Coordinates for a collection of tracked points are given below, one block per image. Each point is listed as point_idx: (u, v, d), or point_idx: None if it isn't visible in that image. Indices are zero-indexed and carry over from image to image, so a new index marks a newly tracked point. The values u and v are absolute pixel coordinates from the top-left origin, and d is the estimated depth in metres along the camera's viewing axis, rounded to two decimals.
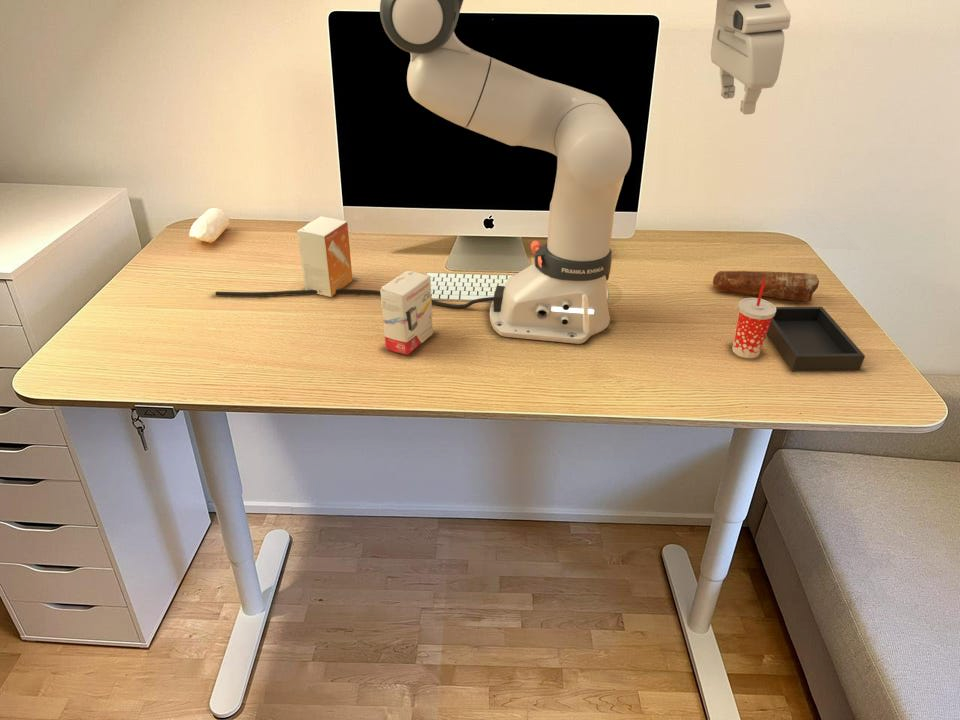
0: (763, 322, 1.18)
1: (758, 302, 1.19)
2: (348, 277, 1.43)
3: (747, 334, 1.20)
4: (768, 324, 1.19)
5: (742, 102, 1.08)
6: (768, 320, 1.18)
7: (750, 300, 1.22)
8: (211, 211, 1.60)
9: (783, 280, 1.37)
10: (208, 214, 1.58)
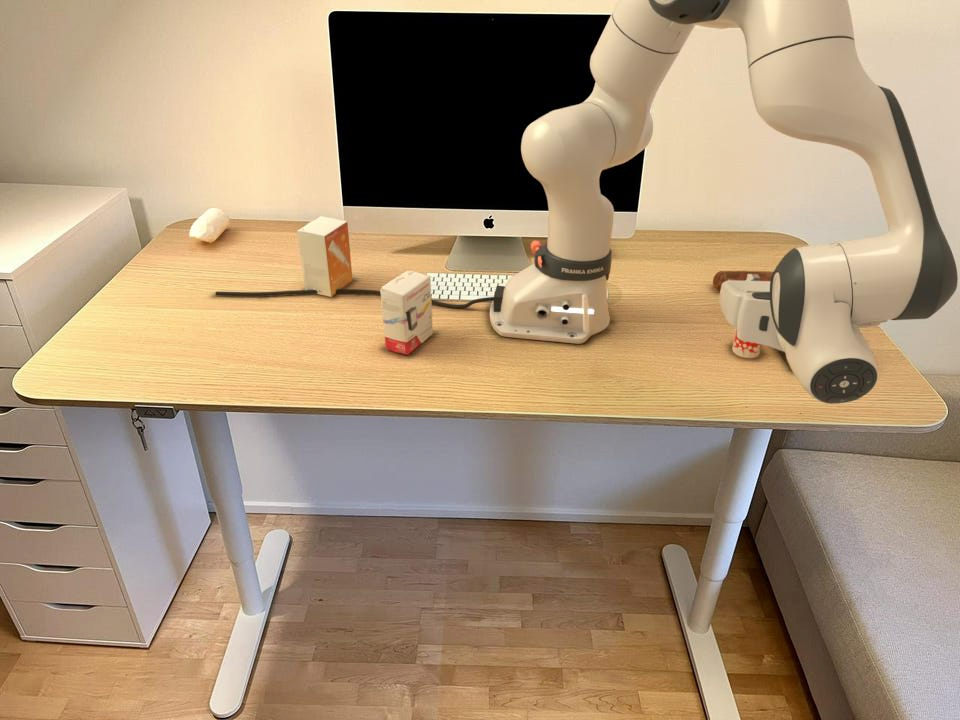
0: None
1: None
2: (348, 277, 1.43)
3: None
4: None
5: (755, 277, 1.04)
6: None
7: None
8: (211, 211, 1.60)
9: None
10: (208, 214, 1.58)
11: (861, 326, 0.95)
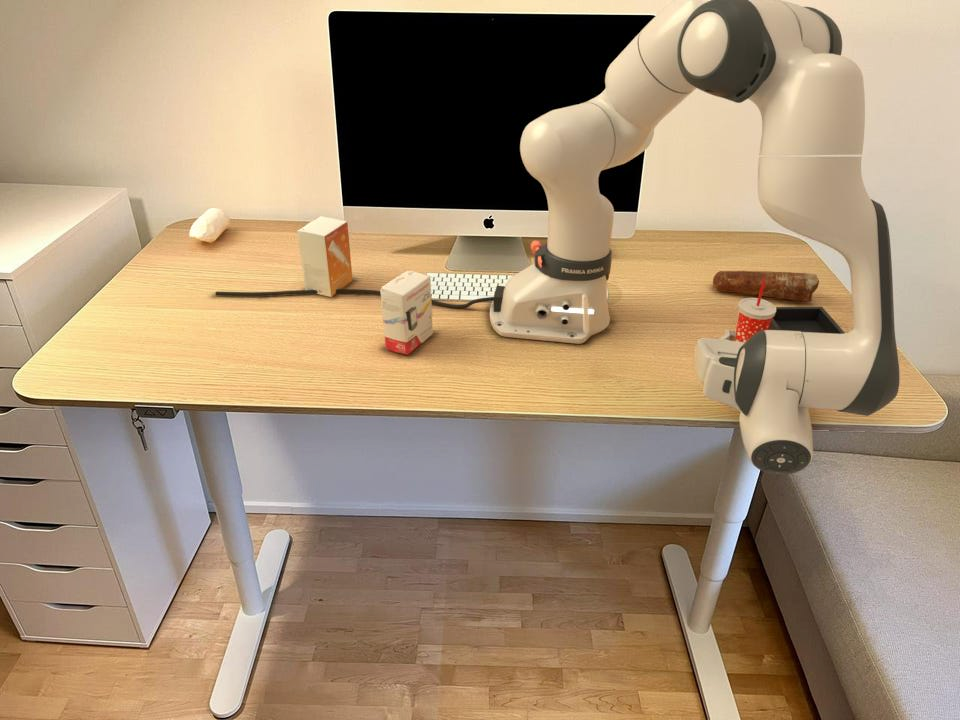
0: (763, 322, 1.18)
1: (758, 302, 1.19)
2: (348, 277, 1.43)
3: (747, 334, 1.20)
4: (768, 324, 1.19)
5: (731, 334, 1.12)
6: (768, 320, 1.18)
7: (750, 300, 1.22)
8: (211, 211, 1.60)
9: (783, 280, 1.37)
10: (208, 214, 1.58)
11: None
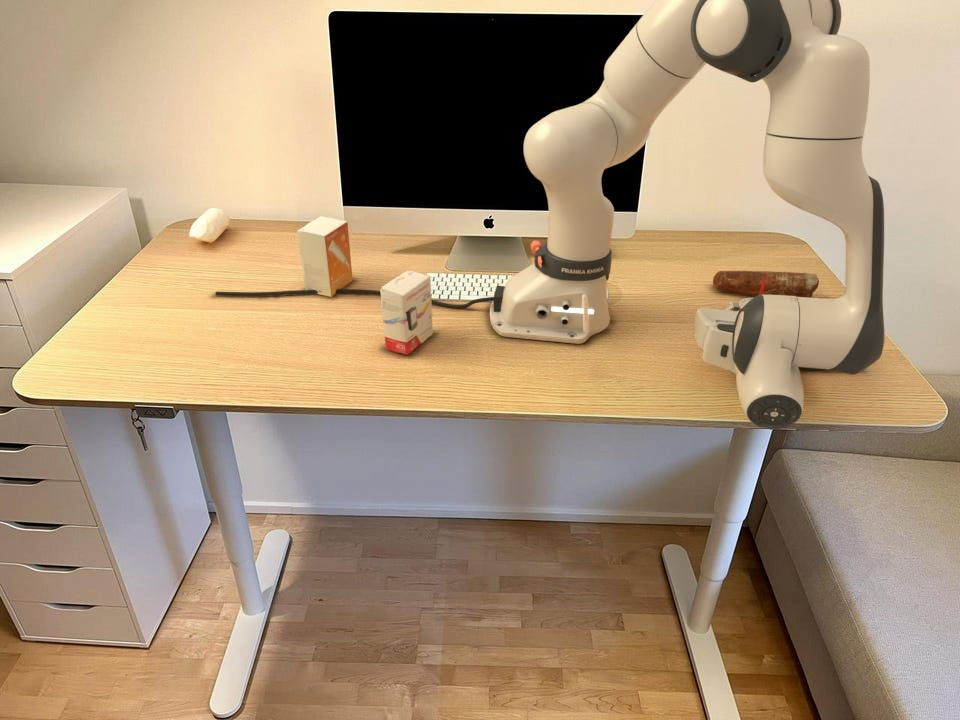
0: None
1: None
2: (348, 277, 1.43)
3: None
4: None
5: (734, 306, 1.20)
6: None
7: None
8: (211, 211, 1.60)
9: (783, 280, 1.37)
10: (208, 214, 1.58)
11: None
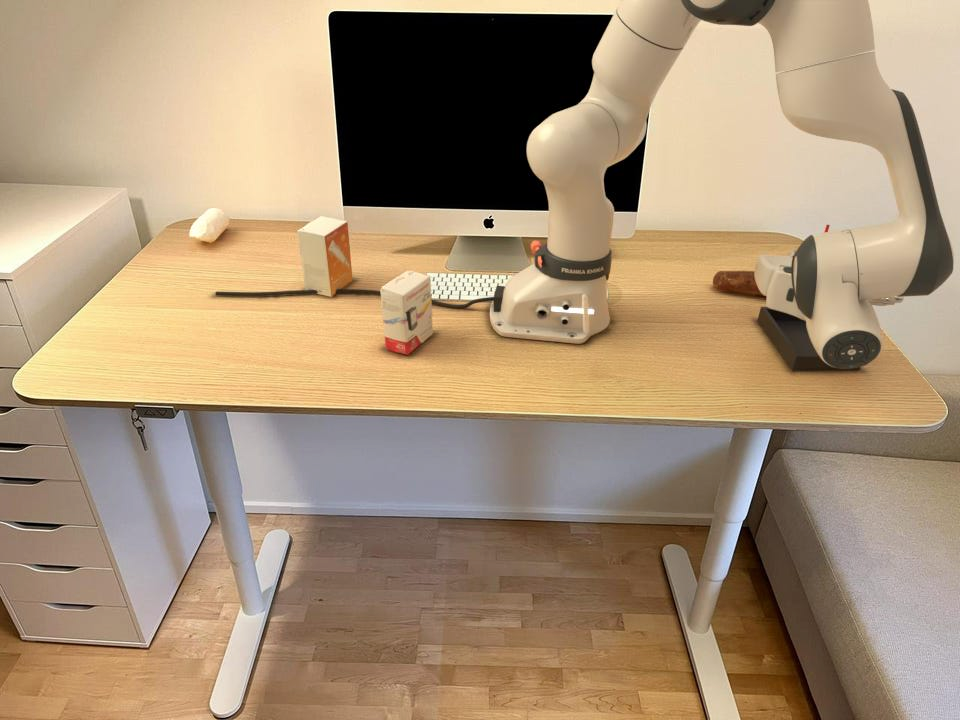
0: None
1: None
2: (348, 277, 1.43)
3: None
4: None
5: None
6: None
7: None
8: (211, 211, 1.60)
9: None
10: (208, 214, 1.58)
11: (878, 304, 1.07)
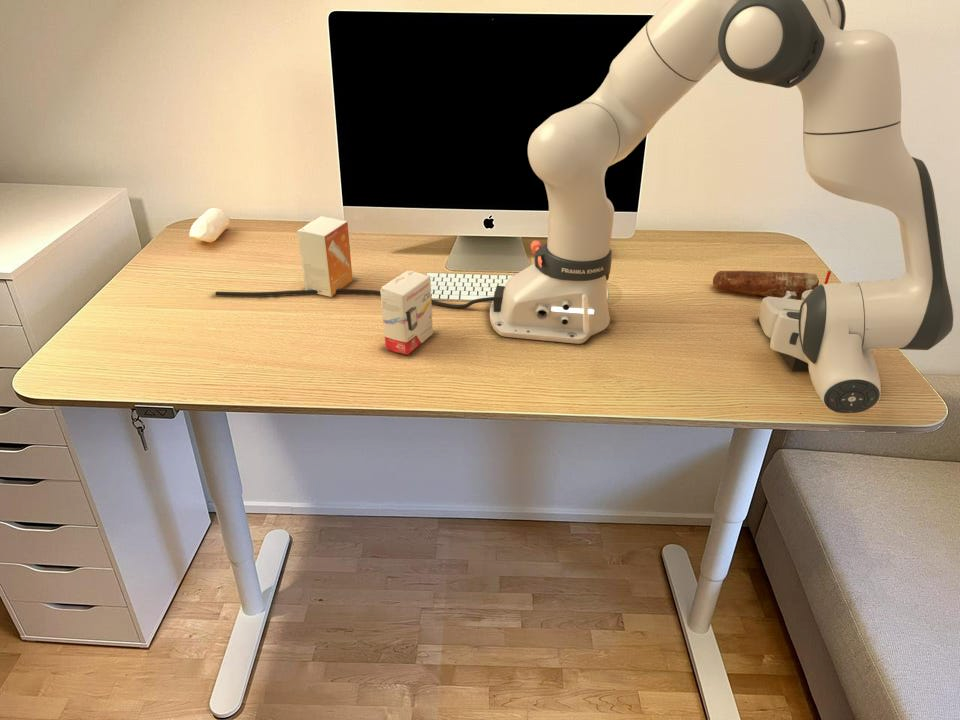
0: None
1: None
2: (348, 277, 1.43)
3: None
4: None
5: (792, 294, 1.21)
6: None
7: None
8: (211, 211, 1.60)
9: (783, 280, 1.37)
10: (208, 214, 1.58)
11: None
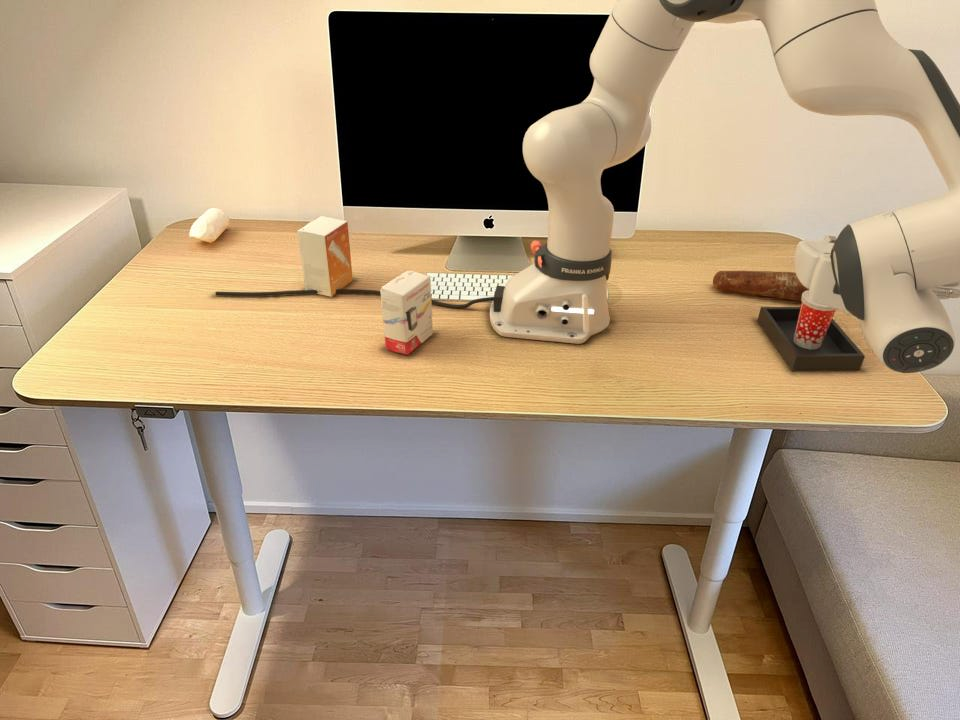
0: (828, 313, 1.20)
1: None
2: (348, 277, 1.43)
3: (810, 325, 1.22)
4: (832, 315, 1.21)
5: (832, 239, 1.02)
6: (832, 311, 1.20)
7: None
8: (211, 211, 1.60)
9: (783, 280, 1.37)
10: (208, 214, 1.58)
11: (939, 298, 0.93)
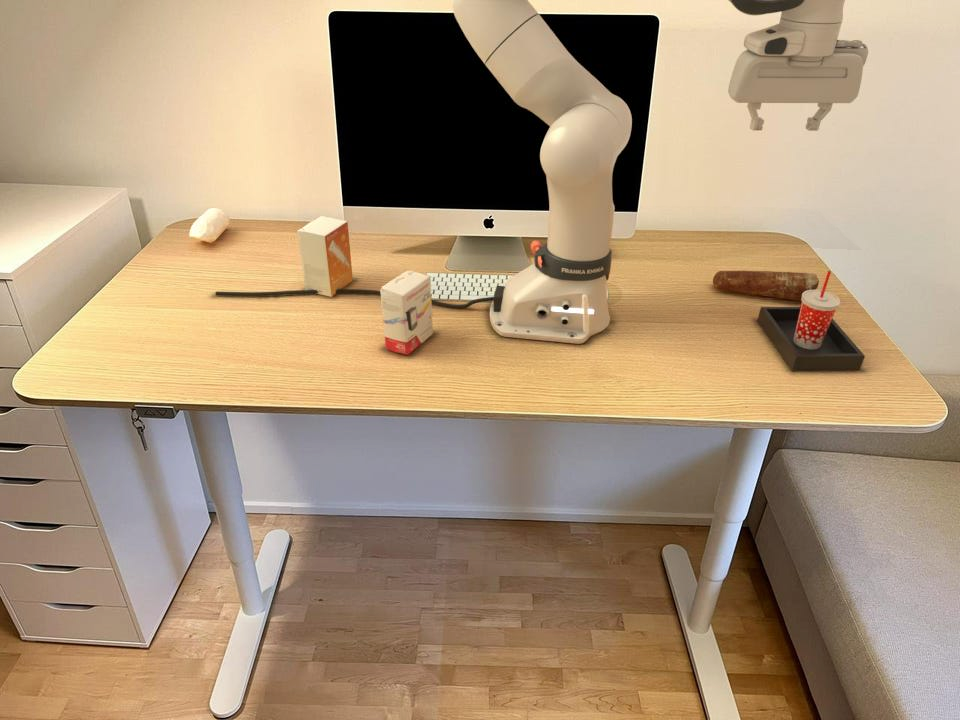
0: (828, 313, 1.20)
1: (822, 294, 1.21)
2: (348, 276, 1.43)
3: (810, 325, 1.22)
4: (832, 315, 1.21)
5: None
6: (832, 311, 1.20)
7: (813, 292, 1.23)
8: (211, 211, 1.60)
9: (783, 280, 1.37)
10: (208, 214, 1.58)
11: (853, 54, 1.10)
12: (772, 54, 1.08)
